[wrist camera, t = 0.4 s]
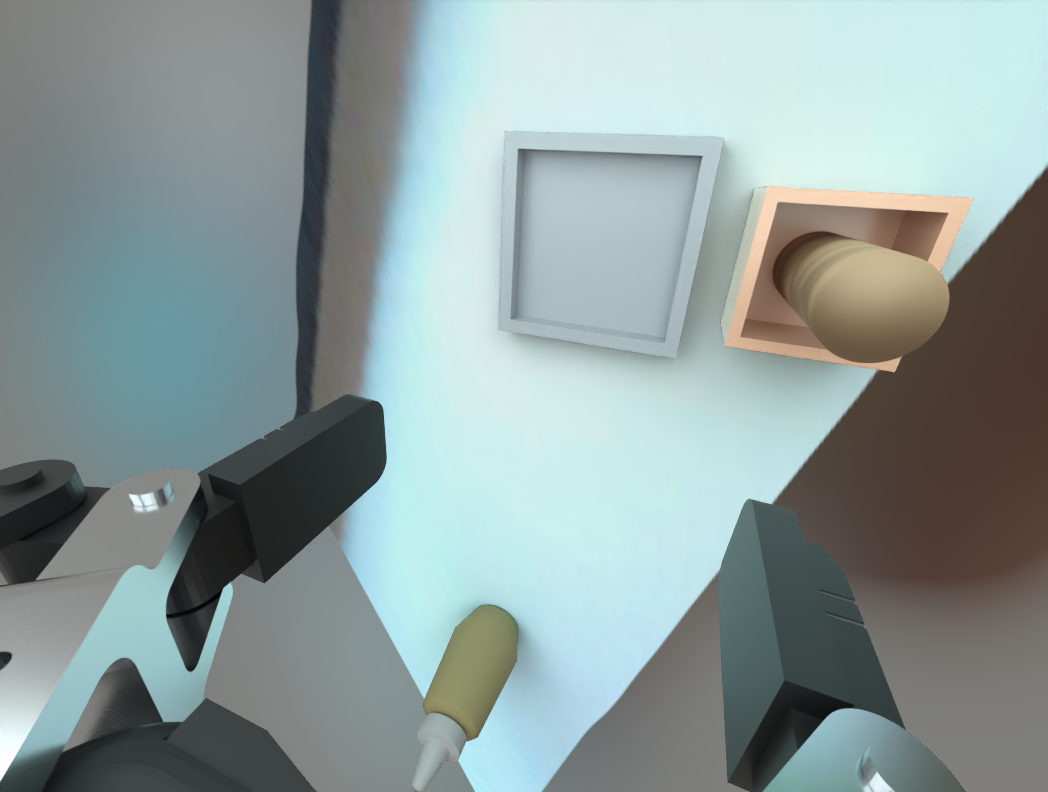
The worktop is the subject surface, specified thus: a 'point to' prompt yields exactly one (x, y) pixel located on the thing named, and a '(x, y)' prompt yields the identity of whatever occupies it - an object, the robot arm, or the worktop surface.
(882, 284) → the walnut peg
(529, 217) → the slate tray
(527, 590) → the worktop surface
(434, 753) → the squeeze bottle
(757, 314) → the terracotta box
